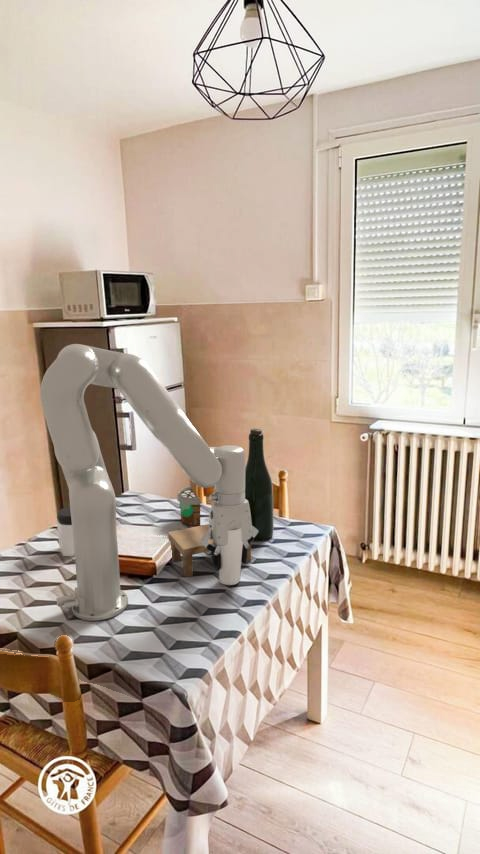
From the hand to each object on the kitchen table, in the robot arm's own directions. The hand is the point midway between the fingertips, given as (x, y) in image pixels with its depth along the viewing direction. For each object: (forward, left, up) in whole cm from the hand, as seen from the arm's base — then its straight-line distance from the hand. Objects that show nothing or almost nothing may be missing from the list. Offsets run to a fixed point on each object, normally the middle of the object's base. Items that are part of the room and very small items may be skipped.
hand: (229, 563), depth 132 cm
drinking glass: (0, 0, -5) cm, 5 cm away
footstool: (0, +13, -5) cm, 14 cm away
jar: (-32, +37, -5) cm, 49 cm away
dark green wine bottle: (+19, +22, -5) cm, 30 cm away
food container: (+4, +41, -5) cm, 41 cm away
